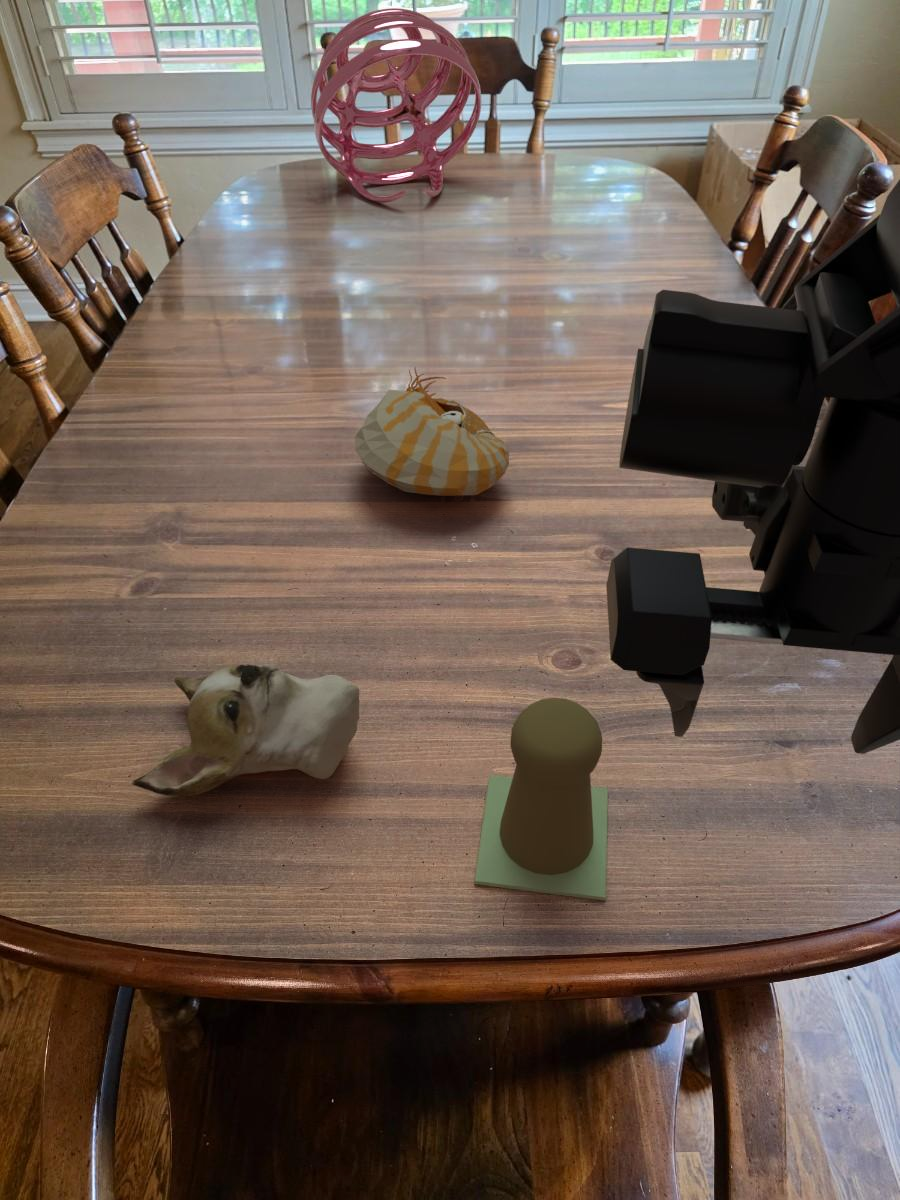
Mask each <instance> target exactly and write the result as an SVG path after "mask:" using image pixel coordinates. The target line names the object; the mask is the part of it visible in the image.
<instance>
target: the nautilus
mask: <svg viewBox="0 0 900 1200" xmlns="http://www.w3.org/2000/svg"><path fill="white" fill-rule="evenodd" d="M416 368H417V367H416V366H414V375H415V378H414V379H413V375H412V374H411V369H408V373H409V377H410V380H409V381H410V382H409V383H408V384H407V388H406V390H398V389H397V390H396V389H388V390H387V392H386V393H385V394H384V396H383V397H382V398H381V399H380V401H379V402H378V404H377V405H376V406H374V408H373V409H372V410H371V411H369V413H368V414H367V415H366V416H365V419H364V421H363V424H362V426H361V427H360V429H359V430H358V432H357V433H356V434H355V436H354V450H355V452H356V454H357V456H358V457H359V459H360V461H361V462H362V464H364V465H365V466H366V467H367V470H369V471H370V472H371V473H372V474H374V475H375V476H376V477H378V478H380V479H381V480H382V481H384V482H385V483H386V484H389V485H391V486H393V487H394V488H397V489H399V490H401V491H402V492H404V493H412V494H420V495H426V496H427V495H428V496H437V497H438V496H440V497H441V496H442V497H443V496H444V497H446V496H448V497H449V496H451V497H454V496H477V495H479V494H482V493H483V492H485V491H487V490H488V489H490V488H491V487H493V486H494V485H496V484H497V483H498V482H499V481H500V479H501V478H502V477H503V476H504V475H505V474H506V472H507V469H508V468H509V465H510V450H509V448H508V446H507V444H506V443H505V442H504V440H502V439H500V438H499V437H497V436H496V435H495V434H494V433H493V431H491V430H490V428H489V426H488V425H487V424H486V422H485V421H484V420H483V419H482V418H481V417H479V415H477V413H476V412H474V411H472V410H470V409H469V408H466V407H465V406H463V405H462V404H460V403H458V402H457V401H455V400H448V399H445V398H442V397H438V398H437V397H436V398H435V397H434V398H432V397H433V396H435V395H436V394H437V392H434V393H431V394H429V393H428V392H429V390H427V388H428V387H429V386H430V385H432V384H434V383H436V382H437V380H436V379H444V380H446V379H447V378H446V377H443V376H430V377H426V378H422V379H419V378H420V377H422V376H424V375H425V373H421V374H419V375H418V372H417V369H416ZM434 379H435V380H434ZM429 380H430V381H431V380H433V381H431V382H429V383H427V384H426V385H425V386H424V387H423V385H422V382H426V381H429Z"/></svg>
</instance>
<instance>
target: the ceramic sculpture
mask: <svg viewBox="0 0 900 1200" xmlns="http://www.w3.org/2000/svg"><path fill="white" fill-rule="evenodd" d="M174 684H175V685H176V686H177V687H178V688H179V689H180V690H181V691H182V693H184V695H185V696H186V698H187V699H188V701H189V705H188V709H187V728H188V733H189V737H190V741H191V743H190V744H189V745H185V746H183V747H182V748H180V749H178V750H175V751H173V752H171V753H170V754H168V755H167V756H166V757H164V758H163V760H162V762H160V763H159V764H157V766H156V767H154V768H153V769H152V770H150V771H149V772H148V773H146V774H143V775H142V776H140V777H138V778H136V779H134V780H132V781H131V785H132V786H135V787H137V788H141V789H143V790H146V791H150V792H152V793H155V794H159V795H165V796H175V797H176V796H177V797H191V796H198V795H201V794H204V793H207V792H209V791H211V790H213V789H215V788H217V787H219V786H221V785H222V784H224V783H227V782H228V781H231V780H234V779H235V778H236V777H237V776H239V775H245V774H246V775H247V774H259V773H265V772H274V771H275V772H276V771H278V772H279V771H287V770H298V771H301V772H303V773H305V774H306V775H308V776H309V777H312V778H315V779H318V780H326V779H329V778H330V777H331V776H332V775H333V774H334V773H335V771H336V770H337V768H338V767H339V764H340V763H341V761H342V760H343V758H344V757H345V755H346V754H347V751H348V748H349V746H350V743H351V742H352V741H353V738H354V737H355V735H356V733H357V731H358V723H359V720H360V689H359V687H358V685H356V684H352V682H350V680H348V679H346V678H344V677H343V676H341V675H337V674H327V675H323V676H319V677H316V678H315V677H314V678H309V679H305V678H301V677H297V676H295V675H292V674H289V673H286V672H284V671H282V670H280V669H279V668H278V667H277V666H276V665H274V664H270V663H269V664H268V663H267V664H266V663H264V664H263V663H262V664H259V665H258V664H257V665H254V664H253V665H252V664H238V665H227V666H223V667H220V668H218V669H217V670H215V671H213V672H212V673H210V674H209V675H208V676H205V677H203V678H190V677H175V678H174Z"/></svg>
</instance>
